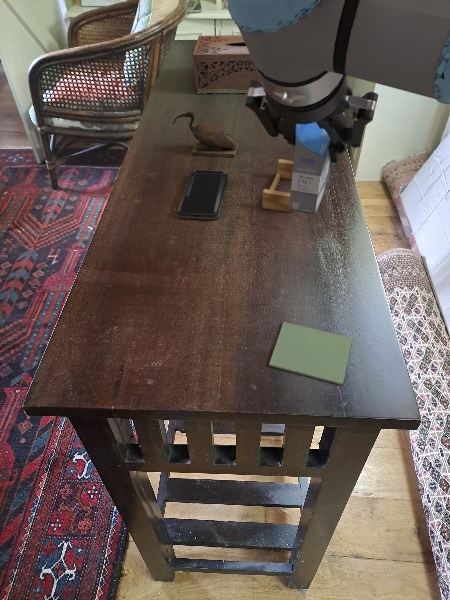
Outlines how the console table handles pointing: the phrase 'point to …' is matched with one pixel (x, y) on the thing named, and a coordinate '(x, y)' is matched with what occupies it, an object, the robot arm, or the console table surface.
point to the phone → (203, 195)
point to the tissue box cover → (223, 63)
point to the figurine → (211, 140)
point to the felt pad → (311, 353)
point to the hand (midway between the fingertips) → (319, 150)
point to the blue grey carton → (309, 168)
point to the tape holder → (277, 198)
